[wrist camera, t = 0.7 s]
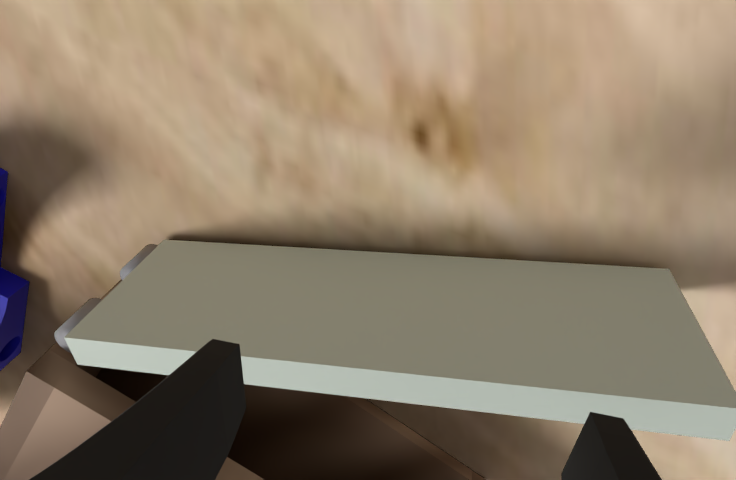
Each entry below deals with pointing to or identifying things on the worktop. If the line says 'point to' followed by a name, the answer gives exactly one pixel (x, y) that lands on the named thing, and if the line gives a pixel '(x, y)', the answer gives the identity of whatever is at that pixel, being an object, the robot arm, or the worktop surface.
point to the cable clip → (10, 296)
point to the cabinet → (251, 444)
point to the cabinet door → (420, 331)
